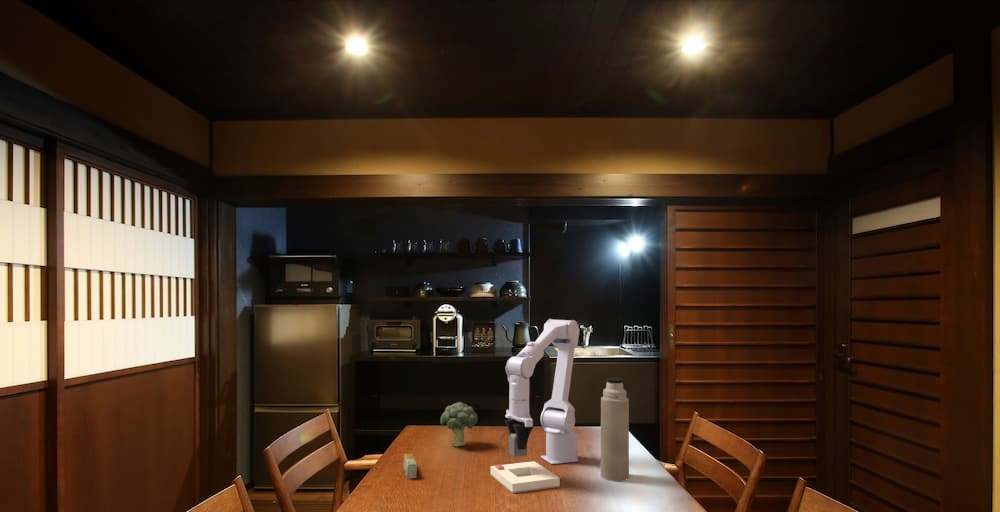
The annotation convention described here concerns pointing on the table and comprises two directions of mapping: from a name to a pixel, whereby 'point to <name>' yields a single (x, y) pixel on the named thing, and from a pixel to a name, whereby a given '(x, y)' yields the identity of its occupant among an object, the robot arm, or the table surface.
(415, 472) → the medication box
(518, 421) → the robot arm
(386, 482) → the table surface
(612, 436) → the thermos bottle
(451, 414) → the vegetable
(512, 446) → the plug
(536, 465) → the faceplate
